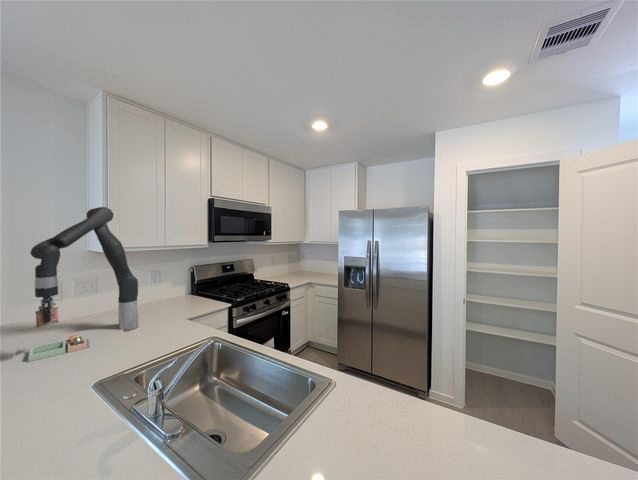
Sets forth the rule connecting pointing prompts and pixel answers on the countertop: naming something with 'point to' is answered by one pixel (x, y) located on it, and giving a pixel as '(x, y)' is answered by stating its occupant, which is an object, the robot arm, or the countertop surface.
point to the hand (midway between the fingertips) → (47, 320)
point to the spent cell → (76, 340)
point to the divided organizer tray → (55, 349)
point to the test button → (72, 338)
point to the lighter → (41, 317)
